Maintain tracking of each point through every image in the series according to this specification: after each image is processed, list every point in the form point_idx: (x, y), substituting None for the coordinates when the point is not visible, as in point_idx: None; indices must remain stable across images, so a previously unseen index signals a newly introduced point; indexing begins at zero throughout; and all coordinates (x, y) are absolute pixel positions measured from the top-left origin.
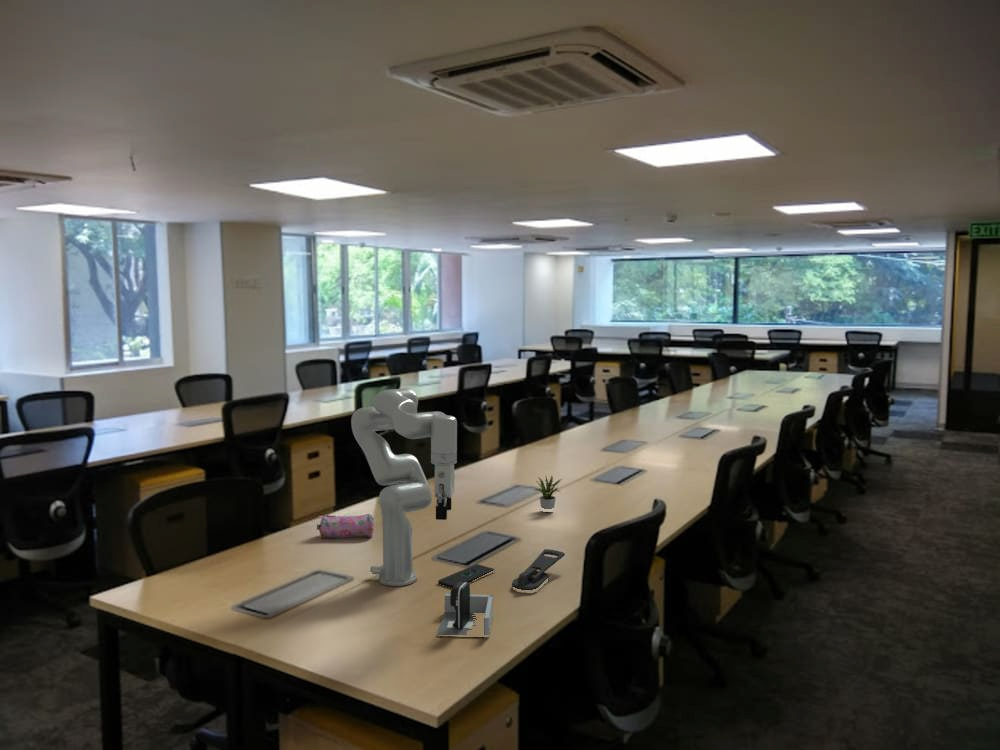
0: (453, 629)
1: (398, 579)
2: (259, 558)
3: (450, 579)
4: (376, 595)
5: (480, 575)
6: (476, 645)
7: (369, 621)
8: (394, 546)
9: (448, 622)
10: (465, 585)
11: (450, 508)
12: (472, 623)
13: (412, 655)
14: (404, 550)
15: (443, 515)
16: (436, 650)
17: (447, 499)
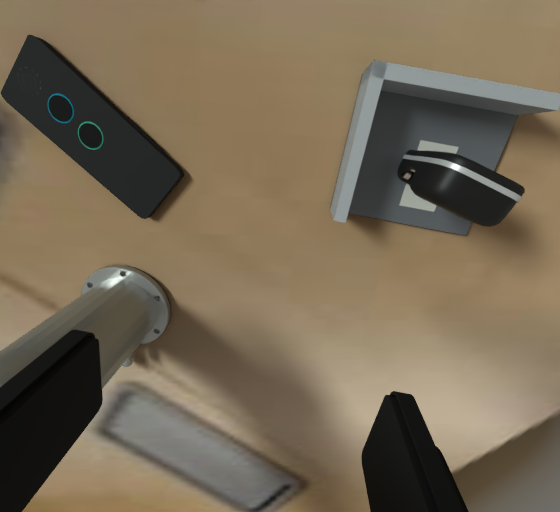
0: None
1: (154, 310)
2: (55, 501)
3: (133, 185)
4: (218, 344)
5: (93, 90)
6: (548, 141)
7: (347, 357)
8: (104, 376)
9: (407, 206)
10: (495, 174)
11: (88, 345)
12: (431, 143)
13: (536, 287)
14: (103, 341)
15: (442, 459)
16: (534, 239)
17: (2, 463)
